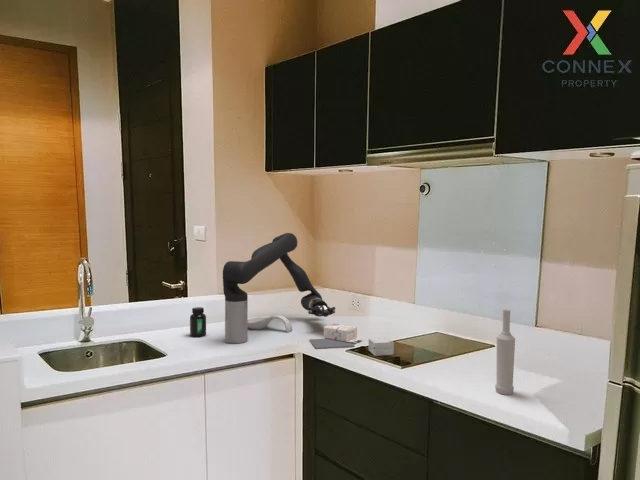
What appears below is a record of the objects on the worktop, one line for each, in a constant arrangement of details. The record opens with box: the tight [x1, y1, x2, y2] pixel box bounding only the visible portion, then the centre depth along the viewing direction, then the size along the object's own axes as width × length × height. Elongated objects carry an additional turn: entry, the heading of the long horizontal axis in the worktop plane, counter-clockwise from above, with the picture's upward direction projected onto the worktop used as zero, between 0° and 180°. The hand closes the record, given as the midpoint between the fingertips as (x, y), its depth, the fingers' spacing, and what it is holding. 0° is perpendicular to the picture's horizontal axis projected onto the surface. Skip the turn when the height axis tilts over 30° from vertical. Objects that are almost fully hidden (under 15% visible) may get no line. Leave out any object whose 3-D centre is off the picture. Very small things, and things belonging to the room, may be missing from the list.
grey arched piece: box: [248, 314, 293, 334], centre depth 225 cm, size 24×12×7 cm, turn 66°
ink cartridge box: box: [323, 323, 363, 343], centre depth 206 cm, size 9×5×15 cm
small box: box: [368, 336, 395, 357], centre depth 188 cm, size 8×8×5 cm
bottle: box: [495, 308, 516, 396], centre depth 146 cm, size 5×5×25 cm
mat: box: [308, 338, 356, 350], centre depth 200 cm, size 16×13×1 cm
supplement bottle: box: [189, 306, 207, 338], centre depth 212 cm, size 7×7×12 cm
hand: (326, 314), depth 210 cm, fingers closed
